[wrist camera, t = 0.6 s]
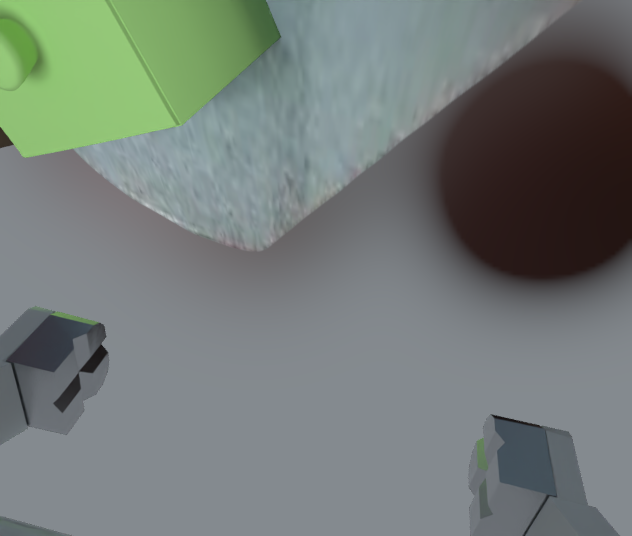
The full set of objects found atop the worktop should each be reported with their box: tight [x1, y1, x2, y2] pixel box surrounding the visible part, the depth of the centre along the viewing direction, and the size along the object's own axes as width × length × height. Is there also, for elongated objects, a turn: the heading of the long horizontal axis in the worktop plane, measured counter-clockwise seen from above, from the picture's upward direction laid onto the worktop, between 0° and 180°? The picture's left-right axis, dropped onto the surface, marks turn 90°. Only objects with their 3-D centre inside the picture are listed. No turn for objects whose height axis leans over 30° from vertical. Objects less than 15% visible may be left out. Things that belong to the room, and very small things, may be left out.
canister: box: [0, 0, 281, 158], centre depth 54 cm, size 25×21×23 cm
